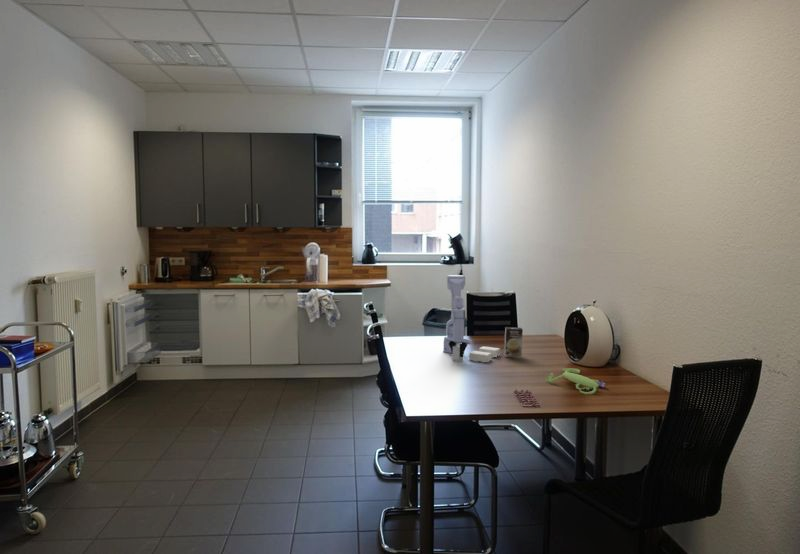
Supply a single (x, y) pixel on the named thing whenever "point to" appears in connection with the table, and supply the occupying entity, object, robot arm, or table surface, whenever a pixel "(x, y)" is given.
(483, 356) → the white block pair
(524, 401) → the chocolate bar
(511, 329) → the coffee box
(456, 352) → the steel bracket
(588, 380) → the figurine
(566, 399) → the table surface
